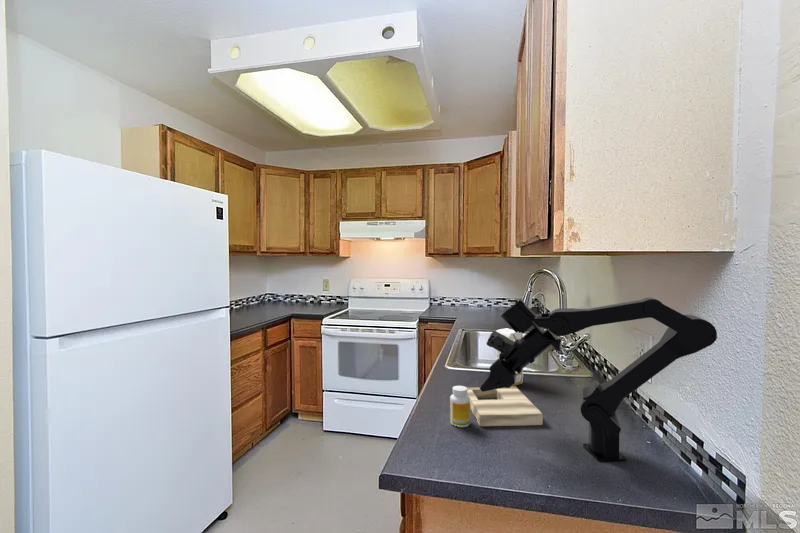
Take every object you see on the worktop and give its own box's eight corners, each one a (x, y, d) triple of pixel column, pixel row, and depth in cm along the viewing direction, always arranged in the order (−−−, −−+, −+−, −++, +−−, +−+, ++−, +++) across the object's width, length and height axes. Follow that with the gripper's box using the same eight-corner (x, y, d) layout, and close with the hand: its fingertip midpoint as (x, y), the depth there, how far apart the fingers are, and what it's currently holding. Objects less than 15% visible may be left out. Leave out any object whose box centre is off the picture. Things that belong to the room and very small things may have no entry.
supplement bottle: (474, 425, 93) (473, 390, 93) (456, 429, 91) (456, 393, 91) (463, 417, 98) (463, 383, 98) (446, 420, 96) (446, 386, 96)
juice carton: (512, 388, 120) (512, 333, 119) (492, 381, 127) (492, 329, 127) (525, 383, 124) (526, 331, 124) (506, 377, 131) (506, 327, 131)
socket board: (542, 424, 93) (542, 413, 93) (480, 426, 93) (480, 415, 93) (515, 395, 113) (515, 386, 113) (464, 396, 113) (464, 387, 113)
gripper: (511, 316, 97) (472, 351, 102) (499, 329, 80) (453, 369, 86) (542, 347, 94) (500, 382, 99) (535, 367, 77) (485, 407, 82)
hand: (485, 383), depth 92 cm, fingers open, 9 cm apart
